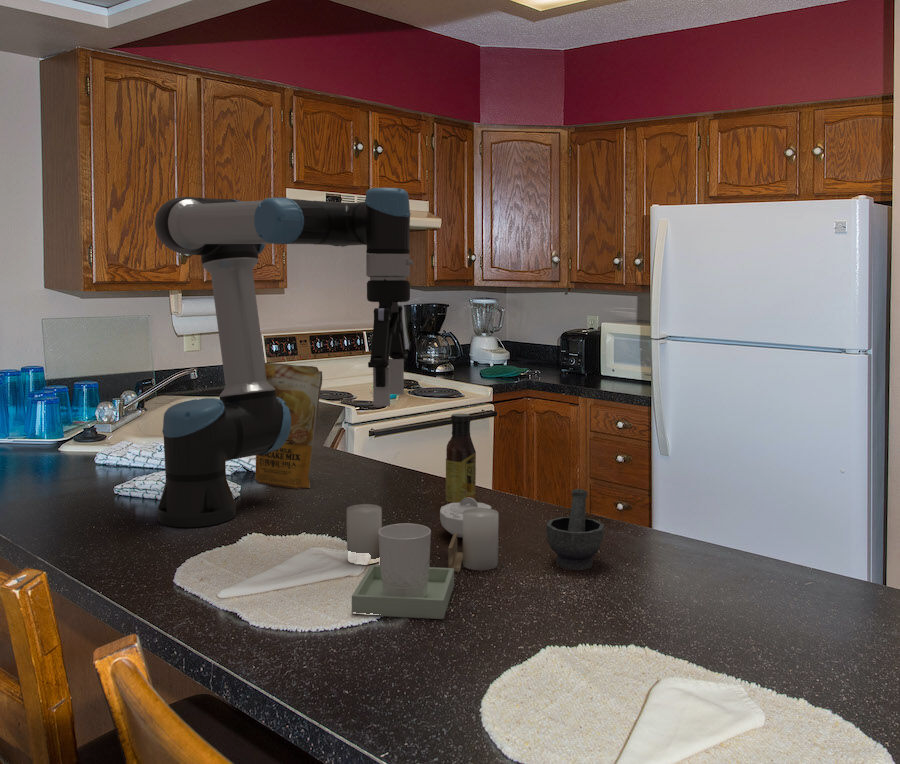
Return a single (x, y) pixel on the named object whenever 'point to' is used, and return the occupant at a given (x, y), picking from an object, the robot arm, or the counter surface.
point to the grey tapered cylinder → (364, 529)
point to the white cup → (404, 559)
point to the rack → (454, 555)
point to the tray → (431, 606)
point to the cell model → (457, 514)
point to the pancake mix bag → (292, 426)
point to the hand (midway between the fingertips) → (389, 399)
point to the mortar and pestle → (575, 535)
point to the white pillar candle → (480, 538)
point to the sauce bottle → (460, 461)
